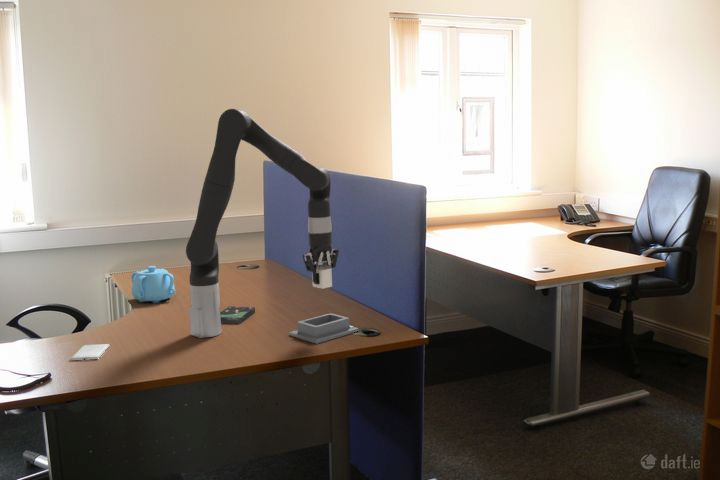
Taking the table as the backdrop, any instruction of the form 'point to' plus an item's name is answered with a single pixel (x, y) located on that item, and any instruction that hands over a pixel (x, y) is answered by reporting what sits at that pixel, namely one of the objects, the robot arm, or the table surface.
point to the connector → (324, 276)
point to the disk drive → (236, 314)
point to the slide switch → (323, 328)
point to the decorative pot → (152, 285)
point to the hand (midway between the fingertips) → (322, 282)
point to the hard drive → (90, 352)
